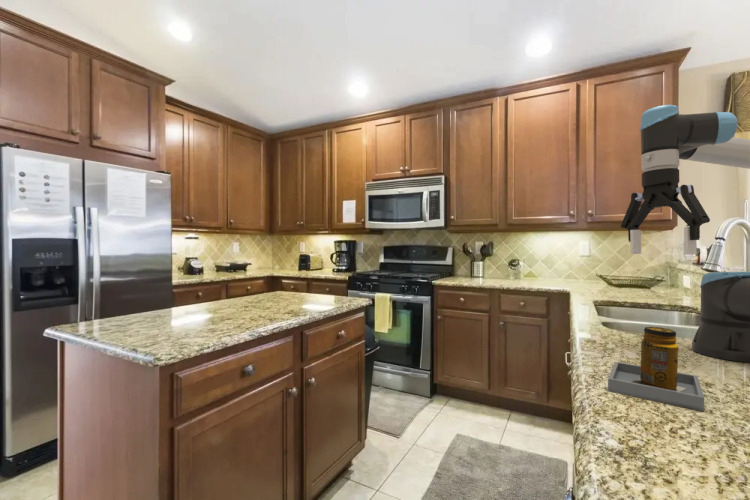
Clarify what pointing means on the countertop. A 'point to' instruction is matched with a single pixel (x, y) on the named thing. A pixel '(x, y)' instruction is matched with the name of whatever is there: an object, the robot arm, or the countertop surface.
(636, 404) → the countertop surface
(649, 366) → the condiment
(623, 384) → the tray
